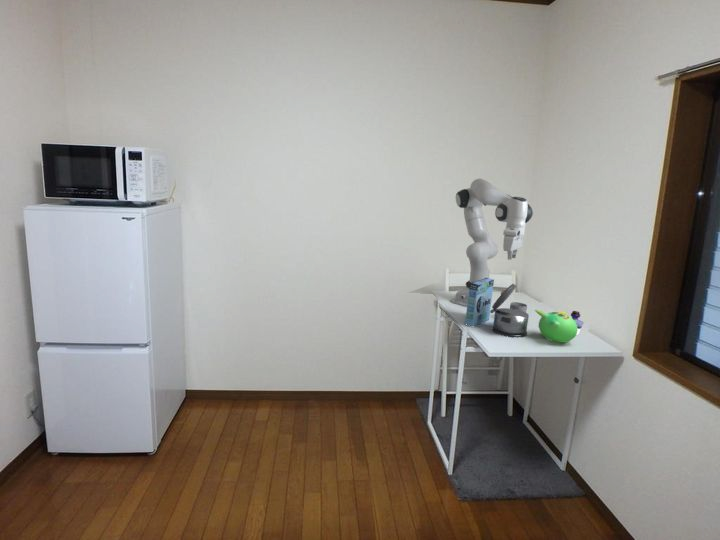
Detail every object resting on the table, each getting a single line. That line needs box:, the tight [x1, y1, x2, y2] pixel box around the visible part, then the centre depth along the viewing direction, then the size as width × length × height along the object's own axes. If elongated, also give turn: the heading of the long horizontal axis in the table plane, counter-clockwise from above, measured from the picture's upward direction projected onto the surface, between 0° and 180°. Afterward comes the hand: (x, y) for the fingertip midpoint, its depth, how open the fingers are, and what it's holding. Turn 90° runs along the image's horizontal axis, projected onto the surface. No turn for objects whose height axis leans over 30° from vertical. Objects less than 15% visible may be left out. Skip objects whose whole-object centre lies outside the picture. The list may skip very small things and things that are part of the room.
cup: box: [509, 301, 528, 313], centre depth 240 cm, size 8×8×10 cm
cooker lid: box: [490, 283, 517, 314], centre depth 223 cm, size 18×16×4 cm
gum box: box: [464, 277, 495, 327], centre depth 234 cm, size 20×5×23 cm, turn 139°
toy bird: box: [534, 309, 578, 343], centre depth 213 cm, size 18×17×15 cm
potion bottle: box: [570, 310, 584, 336], centre depth 225 cm, size 9×9×12 cm
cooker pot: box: [492, 307, 530, 338], centre depth 223 cm, size 17×21×10 cm
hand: (511, 258), depth 218 cm, fingers open, 5 cm apart
